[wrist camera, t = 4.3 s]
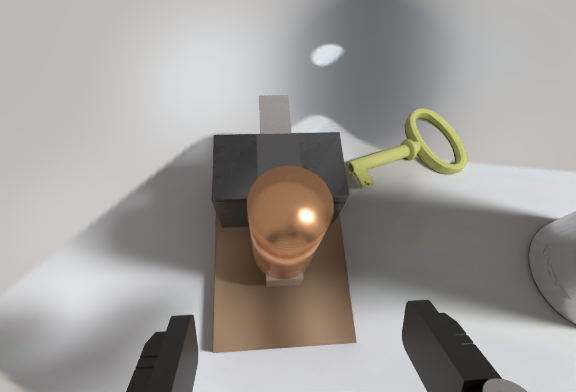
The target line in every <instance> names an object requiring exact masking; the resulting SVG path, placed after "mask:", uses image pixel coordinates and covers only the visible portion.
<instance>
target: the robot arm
mask: <svg viewBox="0 0 576 392" xmlns="http://www.w3.org/2000/svg"><path fill="white" fill-rule="evenodd" d="M529 259H530V267H531V271H532V275H533V278H534V280H535V282H536V284H537V286H538V288H539V290H540V291H541V293H542V294H543V296H544V297H545V299H546V300H547V301H548V302H549V303H550V304H551V305H552V307H553V308H554V309H555V310H556V311H557V312H559V313H560V314H561V315H562V316H564V317H565V318H566V319H567V320H569V321H571V322H573V323H574V324H576V212H573V213H571V214H569V215H567V216H564V217H562V218H560V219H558V220H555V221H553V222H551V223H549V224H547V225H545V226H544V227H542V228H541V229H540V230H539V231H538V232H537V233H536V234H535V236H534V238H533V240H532V242H531V246H530V251H529ZM402 340H403V345H404V348H405V350H406V352H407V354H408V356H409V358H410V360H411V362H412V364H413V365H414V367H415V369H416V371H417V373H418V375H419V377H420V379H421V381H422V382H423V384H424V386H425V388H426V390H427V392H527V391H526V390H525V389H523V388H522V387H520V386H519V385H517V384H515V383H513V382H511V381H508V380H504V379H502V378H501V377H500V375H499V374H498V373H497V372H496V370H495V369H494V368H493V367H492V365H491V364H490V363H489V361H488V360H487V359H486V358H485V356H484V355H483V354H482V353H481V351H480V350H479V349H478V348H477V346H476V345H474V344H473V341H472V340H471V339H470V338H469V336H468V335H466V332H465V331H464V330H463V329H462V327H461V326H460V325H459V324H458V322H457V321H455V320H454V319H452V318H451V317H450V316H448V315H447V314H445V313H439V312H438V311H437V310H436V308H435V307H434V306H433V304H432V303H431V302H430V301H429V300H416V301H408V302H407V303H406V308H405V315H404V322H403V329H402ZM197 364H198V344H197V336H196V329H195V321H194V316H193V315H179V316H172V317H171V318H170V321H169V324H168V327H167V330H166V331H165V332H155V333H154V335H153V336H152V337H151V338H150V339H149V340H148V341H147V342H146V343H145V346H144V348H143V351H142V353H141V356H140V359H139V361H138V363H137V366H136V370H135V371H134V373H133V376H132V378H131V381H130V383H129V386H128V388H127V391H126V392H192V390H193V385H194V380H195V375H196V369H197Z"/></svg>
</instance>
